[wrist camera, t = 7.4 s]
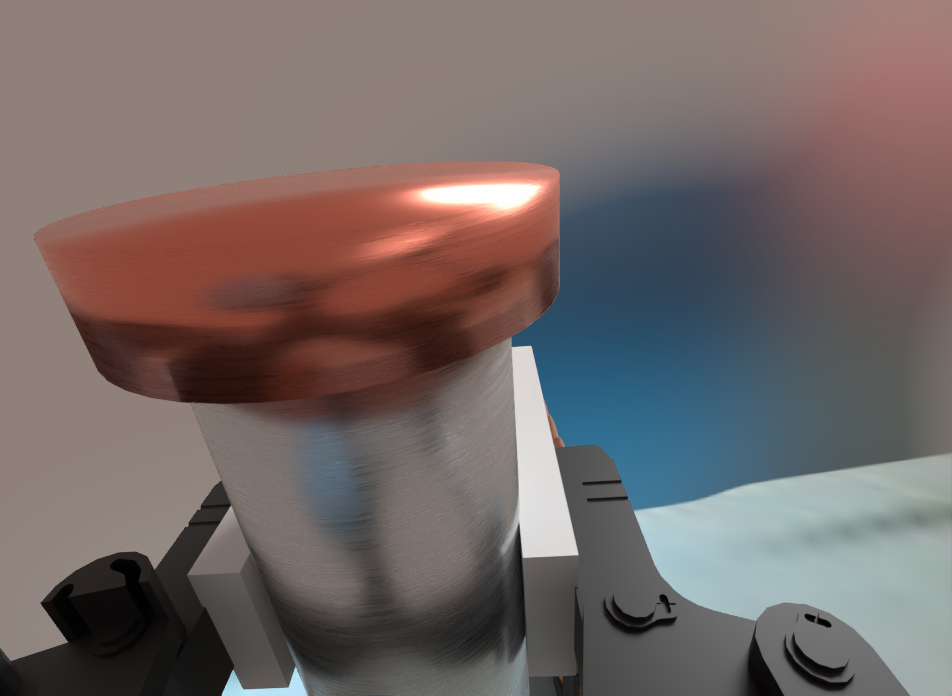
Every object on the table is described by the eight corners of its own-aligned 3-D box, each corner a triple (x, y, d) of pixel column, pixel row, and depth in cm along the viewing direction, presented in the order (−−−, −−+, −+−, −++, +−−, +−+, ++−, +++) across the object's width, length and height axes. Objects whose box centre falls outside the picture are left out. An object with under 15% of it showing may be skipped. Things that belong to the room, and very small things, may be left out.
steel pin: (609, 847, 11) (674, 170, 4) (389, 1059, 8) (-88, 309, 2) (488, 649, 15) (434, 157, 9) (319, 756, 13) (84, 200, 6)
